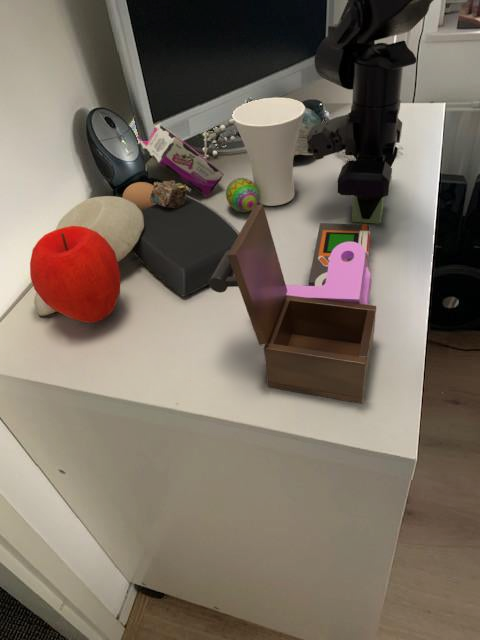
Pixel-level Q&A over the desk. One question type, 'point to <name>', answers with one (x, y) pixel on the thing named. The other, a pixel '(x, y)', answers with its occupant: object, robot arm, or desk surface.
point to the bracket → (341, 277)
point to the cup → (271, 144)
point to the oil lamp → (103, 227)
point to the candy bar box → (180, 159)
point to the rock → (169, 194)
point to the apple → (76, 273)
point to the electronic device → (329, 240)
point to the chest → (321, 348)
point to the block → (375, 216)
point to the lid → (254, 273)
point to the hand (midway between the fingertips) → (368, 209)
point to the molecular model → (220, 139)
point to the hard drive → (184, 243)
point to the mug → (306, 131)
